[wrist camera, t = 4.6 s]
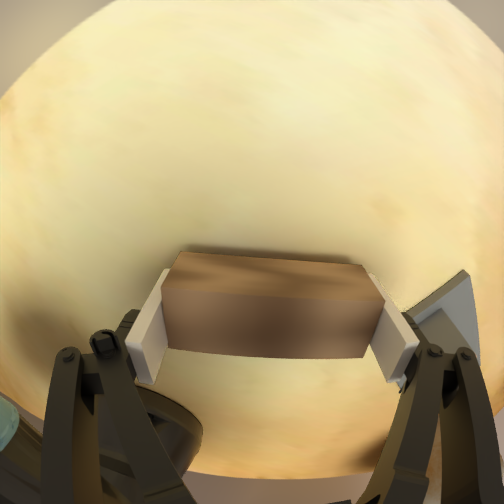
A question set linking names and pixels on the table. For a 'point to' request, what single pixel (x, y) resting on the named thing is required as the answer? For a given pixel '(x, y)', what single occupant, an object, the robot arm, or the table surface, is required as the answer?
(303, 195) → the table surface
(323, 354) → the walnut bar
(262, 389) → the table surface
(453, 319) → the ridge block
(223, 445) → the table surface
